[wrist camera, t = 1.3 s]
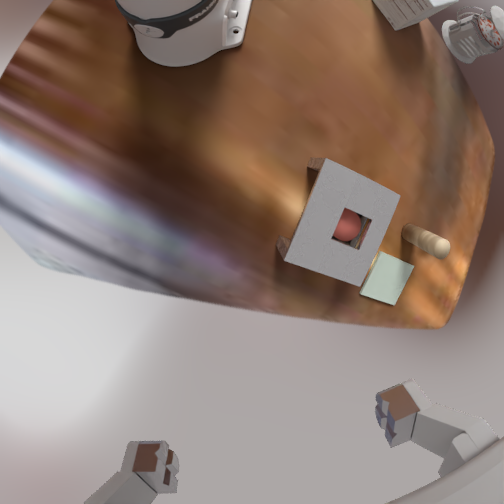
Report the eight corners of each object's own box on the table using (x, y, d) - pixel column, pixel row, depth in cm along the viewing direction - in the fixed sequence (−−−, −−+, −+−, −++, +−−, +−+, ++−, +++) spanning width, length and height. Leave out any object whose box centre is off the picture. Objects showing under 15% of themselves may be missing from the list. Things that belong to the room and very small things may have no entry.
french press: (475, 72, 38) (571, 59, 14) (433, 42, 36) (531, 8, 12) (476, 36, 35) (561, 15, 11) (435, 6, 33) (520, -34, 9)
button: (332, 201, 42) (339, 205, 39) (357, 213, 42) (365, 216, 40) (320, 229, 43) (326, 235, 40) (346, 239, 44) (353, 245, 41)
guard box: (310, 157, 42) (325, 158, 35) (377, 189, 44) (400, 195, 37) (275, 244, 46) (283, 260, 39) (343, 268, 48) (360, 286, 41)
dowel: (405, 220, 46) (440, 236, 36) (417, 227, 46) (452, 243, 37) (398, 236, 47) (432, 255, 37) (411, 242, 47) (444, 262, 38)
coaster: (379, 250, 47) (381, 251, 47) (412, 265, 48) (414, 266, 48) (359, 292, 49) (360, 294, 49) (392, 303, 51) (394, 305, 50)
